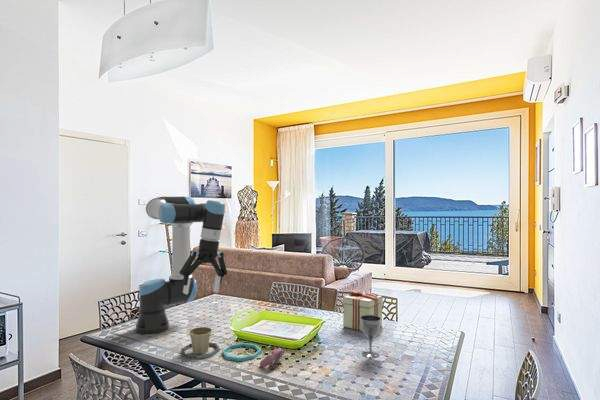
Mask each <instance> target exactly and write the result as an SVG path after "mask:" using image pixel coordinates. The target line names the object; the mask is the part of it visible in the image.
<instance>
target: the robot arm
mask: <svg viewBox="0 0 600 400" xmlns="http://www.w3.org/2000/svg"><path fill="white" fill-rule="evenodd" d="M225 209H226V203H225V202H224V201H217V200H211V199H208V200H207V201H206V203H203V202H201V203H196V201H195V199H194V198H193V197H191V196H158V197H154V198H152V199H150V200H149V201H147V204H146V206H145V212H146V214H147V216H148V217H150V218H151V219H154V220H159V222H160V223H161V224H170V226H171V227H172V233H171V234H172V235H171V236H172V237H171V238H172V239H171V241H172V244H171V245H172V248H171V249H172V250H171V251H172V252H171V253H172V255H171V257H172V259H171V261H172V263H171V265H172V266H171V269H172V270H171V271H172V272H171V275H170V276H169V277H168V280H165V278H154V279H150V280H147V281H144V282H143V283H141V285H140V287H139V293H138V294H139V314H138V319H137V321H136V324H135V332H136V333H138V334H142V335H143V334H144V335H150V334H158V333H162V332H164V331H166V330H168V329H169V327H170V322H169V319H168V315H167V313H166V306H171V305H172V306H173V305H179V304H186V303H191V302H193V301H194V300H195V298H196V295H197V291H198V285H197V284H198V283H197V280H196V278H194V275H193V273H194V272H195V271H196V269H197V268H199V266H200V265H202V264H211V265H212V266H213V268H214V270H215V272H216V274H215V276H214V277H215V278H214V283H213V289H212V291H213V292H214V293H217V294H219V290H220V286H221V284H222V281H223V280H222V279H223V277H225V276H226V275H228V271H227V267H226V262H225V259H224V254H225V253H224V252H223V251H218V250H219V247H220V242H219V241H220V239H221V233H222V227H223V222H224V216H225V213H226V212H225V211H226V210H225ZM194 223H202V226H201V232H200V239H199V243H198V251H196V250H191V226H192V225H193V224H194ZM196 257H197V258H196ZM216 258H217V260H218V261H217V260H216Z"/></svg>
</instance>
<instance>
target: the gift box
mask: <svg viewBox="0 0 600 400" xmlns="http://www.w3.org/2000/svg"><path fill="white" fill-rule="evenodd" d="M348 293H349V294H348V295H346V296H343V297H342V304H343V308H342V309H343V312H342V313H343V319H342V320H343V321H342V322H343V324H342V325H343V328H347V329H352V330H356V331H360V332H363V331H362V328H361V316H363V315H375V316H378V317H380V319H381V323H380V327H382V326H383V305H382V304H383V302H384V298H383V295H380V294H379V295H378V294H376V293H374V292H367V293H365V292H361V291H359V290H356V289H352V290H350V291H348Z"/></svg>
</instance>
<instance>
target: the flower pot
mask: <svg viewBox="0 0 600 400" xmlns="http://www.w3.org/2000/svg"><path fill="white" fill-rule="evenodd" d="M212 332H213V329H212V328H211V327H207V326H198V327H194V328H192V329H190V330H188V334H189V337H190V340H191V343H192V347H191V349H192V354H193V355H194V354H195V355H203V354H207V353H208V351H209V348H210V346H209V342H210V340H211V334H212ZM191 343H190V344H191Z"/></svg>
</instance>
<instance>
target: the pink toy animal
mask: <svg viewBox="0 0 600 400" xmlns="http://www.w3.org/2000/svg"><path fill="white" fill-rule="evenodd" d="M284 354H285V350H284V349H282V348H281V347H278V348H275V349H273V350H272V351H271V352H270V353H268V355H266V357H265V358H263V359H261V361H260V362H259V366H260V367H261V368H267V366H269V367H272V366H274V364H277V363H279V361H280V360H281V358H282V357H284Z"/></svg>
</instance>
